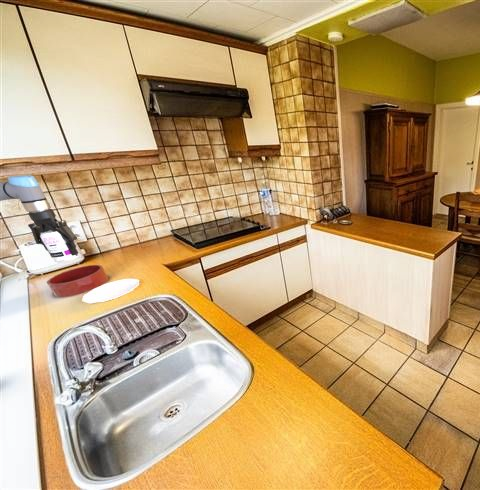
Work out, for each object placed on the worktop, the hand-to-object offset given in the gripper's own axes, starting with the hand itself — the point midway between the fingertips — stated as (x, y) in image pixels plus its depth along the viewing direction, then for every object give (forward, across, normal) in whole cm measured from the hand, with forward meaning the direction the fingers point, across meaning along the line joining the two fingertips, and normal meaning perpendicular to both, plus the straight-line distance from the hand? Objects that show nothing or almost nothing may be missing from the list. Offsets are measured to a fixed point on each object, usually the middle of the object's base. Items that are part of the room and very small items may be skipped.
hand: (65, 255), depth 129 cm
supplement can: (+2, 0, 0) cm, 2 cm away
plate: (+18, -22, +11) cm, 30 cm away
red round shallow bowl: (+18, 0, 0) cm, 18 cm away
